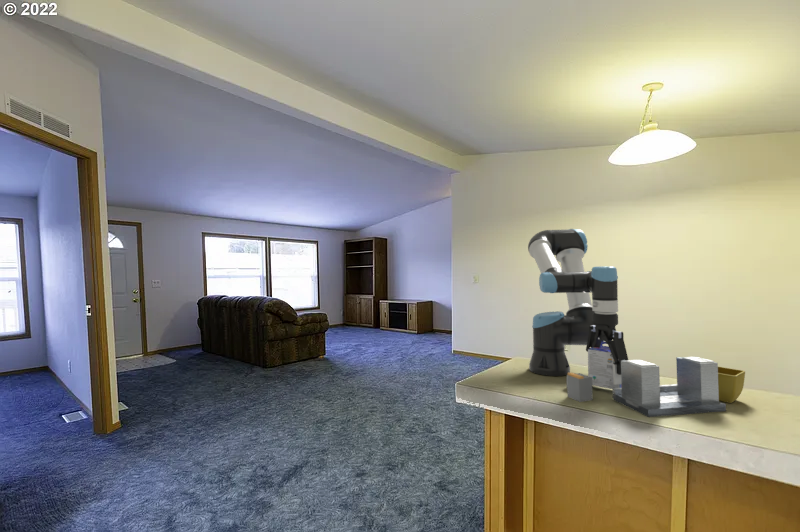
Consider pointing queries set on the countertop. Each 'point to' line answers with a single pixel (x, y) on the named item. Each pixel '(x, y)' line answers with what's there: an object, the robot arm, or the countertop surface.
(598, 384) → the ink cartridge box
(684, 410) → the rail board
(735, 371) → the flower pot
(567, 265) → the robot arm
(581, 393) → the block
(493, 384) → the countertop surface
